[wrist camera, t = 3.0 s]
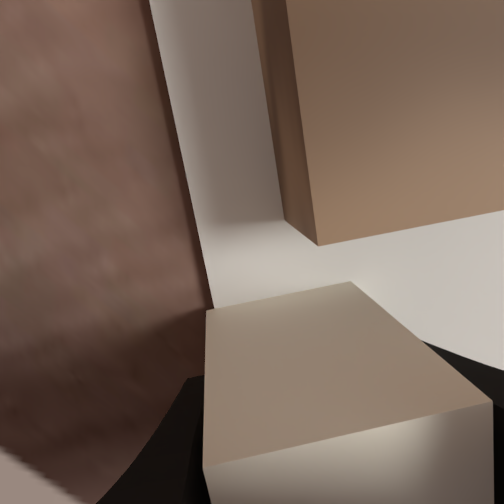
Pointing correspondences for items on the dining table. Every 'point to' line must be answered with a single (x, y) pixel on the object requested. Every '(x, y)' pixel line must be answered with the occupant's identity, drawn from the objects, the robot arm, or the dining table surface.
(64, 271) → the dining table surface
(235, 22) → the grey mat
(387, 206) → the brown block
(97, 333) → the dining table surface
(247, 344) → the cream block
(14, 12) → the dining table surface
